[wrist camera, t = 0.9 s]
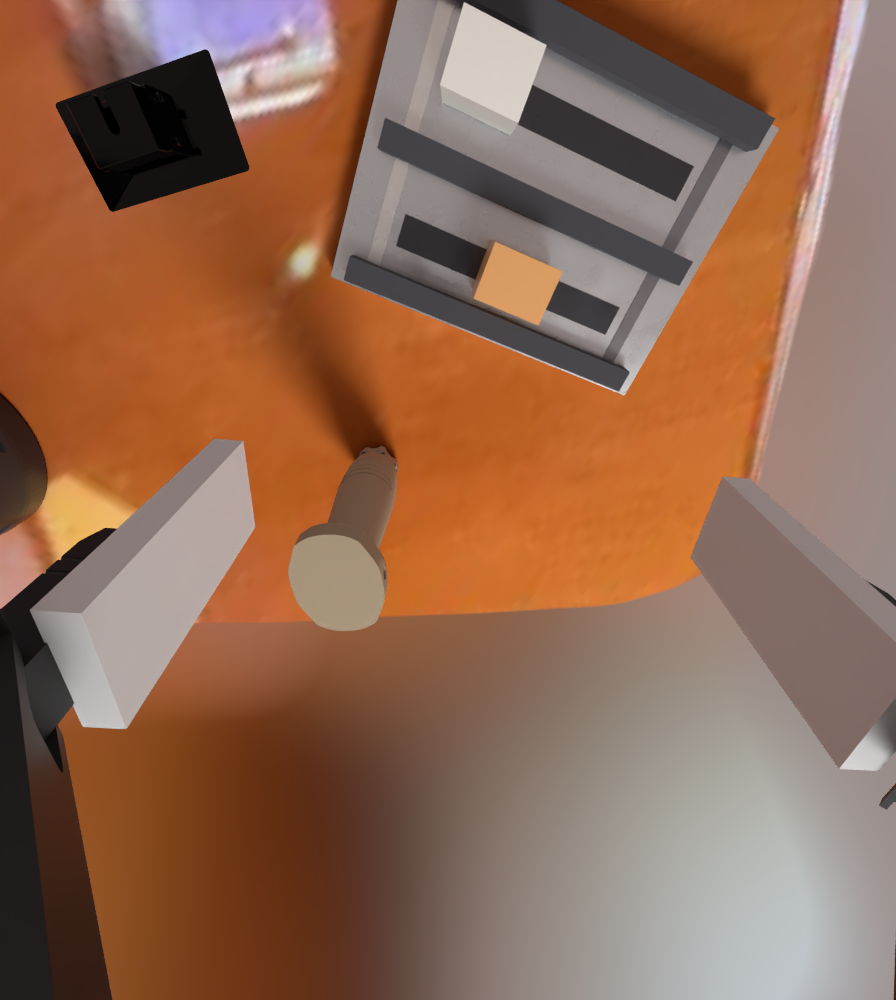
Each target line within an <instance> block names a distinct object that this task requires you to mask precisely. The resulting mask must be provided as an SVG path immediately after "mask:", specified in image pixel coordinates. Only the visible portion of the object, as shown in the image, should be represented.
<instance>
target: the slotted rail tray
mask: <svg viewBox="0 0 896 1000" xmlns="http://www.w3.org/2000/svg"><path fill="white" fill-rule="evenodd" d="M456 1H458V2H460V3H462V4H464V2H465V3H467V4H469V5H471V6H473V7H475V8H476V9H478V10H480V11H482V12H484V13H486V14H488V15H490V16H492V17H494V18H496V19H497V20H499V21H501V22H503V23H505V24H507V25H509V26H511V27H513V28H515V29H517V30H519V31H520V32H522V33H524V34H526V35H528V36H530V37H532V38H534V39H536V40H538V41H540V42H541V43H543V44H545V45H547V46H546V48H548V49H550V50H552V51H554V52H556V53H558V54H559V55H561V56H563V57H565V58H567V59H569V60H571V61H573V62H575V63H577V64H579V65H581V66H582V67H584V68H586V69H588V70H590V71H592V72H594V73H596V74H598V75H600V76H602V77H604V78H605V79H607V80H609V81H611V82H613V83H615V84H617V85H619V86H621V87H623V88H625V89H627V90H628V91H630V92H632V93H634V94H636V95H638V96H640V97H642V98H644V99H646V100H648V101H650V102H651V103H653V104H655V105H657V106H659V107H661V108H663V109H665V110H667V111H669V112H671V113H673V114H674V115H676V116H678V117H680V118H682V119H684V120H686V121H688V122H690V123H692V124H694V125H696V126H697V127H699V128H701V129H703V130H705V131H707V132H709V133H711V134H713V135H715V136H717V137H719V138H721V139H723V140H725V141H727V142H729V143H731V144H733V145H734V146H736V147H738V148H740V149H742V150H743V151H745V152H748V151H752V150H756V149H758V148H759V146H760V144H761V142H762V141H763V139H764V137H765V135H766V134H767V132H768V130H769V128H770V127H771V125H772V123H773V121H774V120H775V118H773V117H771V116H770V115H768V114H766V113H764V112H762V111H760V110H758V109H757V108H755V107H753V106H751V105H749V104H747V103H746V102H744V101H742V100H740V99H738V98H736V97H734V96H733V95H731V94H729V93H727V92H725V91H723V90H722V89H720V88H718V87H716V86H714V85H712V84H710V83H709V82H707V81H705V80H703V79H701V78H699V77H697V76H696V75H694V74H692V73H690V72H688V71H686V70H685V69H683V68H681V67H679V66H677V65H675V64H673V63H672V62H670V61H668V60H666V59H664V58H662V57H661V56H659V55H657V54H655V53H653V52H651V51H649V50H648V49H646V48H644V47H642V46H640V45H638V44H637V43H635V42H633V41H631V40H629V39H627V38H625V37H624V36H622V35H620V34H618V33H616V32H614V31H613V30H611V29H609V28H607V27H605V26H603V25H601V24H600V23H598V22H596V21H594V20H592V19H590V18H589V17H587V16H585V15H583V14H581V13H579V12H577V11H576V10H574V9H572V8H570V7H568V6H566V5H564V4H563V3H561V2H559V1H557V0H456ZM377 148H378V149H379V150H380V151H382V152H384V153H387V154H389V155H391V156H393V157H396V158H398V159H400V160H402V161H404V162H407V163H409V164H411V165H413V166H415V167H417V168H420V169H422V170H424V171H426V172H428V173H431V174H433V175H435V176H437V177H439V178H442V179H444V180H446V181H448V182H450V183H452V184H455V185H457V186H459V187H461V188H463V189H466V190H468V191H470V192H472V193H474V194H477V195H479V196H481V197H483V198H485V199H488V200H490V201H492V202H494V203H496V204H499V205H501V206H503V207H505V208H507V209H510V210H512V211H514V212H516V213H518V214H521V215H523V216H525V217H527V218H529V219H531V220H534V221H536V222H538V223H540V224H542V225H545V226H547V227H549V228H551V229H553V230H556V231H558V232H560V233H562V234H564V235H567V236H569V237H571V238H573V239H575V240H578V241H580V242H582V243H584V244H586V245H589V246H591V247H593V248H595V249H597V250H600V251H602V252H604V253H606V254H608V255H610V256H613V257H615V258H617V259H619V260H621V261H624V262H626V263H628V264H630V265H632V266H635V267H637V268H639V269H641V270H643V271H646V272H648V273H650V274H652V275H655V276H657V277H659V278H661V279H663V280H665V281H668V282H670V283H672V284H675V285H679V286H680V284H681V282H682V280H683V279H684V277H685V275H686V274H687V272H688V270H689V268H690V267H691V265H692V263H693V261H691V260H689V259H686V258H684V257H682V256H680V255H678V254H676V253H674V252H671V251H669V250H667V249H665V248H663V247H661V246H659V245H656V244H654V243H652V242H650V241H648V240H646V239H644V238H642V237H639V236H637V235H635V234H633V233H631V232H629V231H627V230H624V229H622V228H620V227H618V226H616V225H614V224H612V223H609V222H607V221H605V220H603V219H601V218H599V217H597V216H595V215H592V214H590V213H588V212H586V211H584V210H582V209H580V208H577V207H575V206H573V205H571V204H569V203H567V202H565V201H562V200H560V199H558V198H556V197H554V196H552V195H550V194H547V193H545V192H543V191H541V190H539V189H537V188H535V187H533V186H530V185H528V184H526V183H524V182H522V181H520V180H518V179H515V178H513V177H511V176H509V175H507V174H505V173H503V172H500V171H498V170H496V169H494V168H492V167H490V166H488V165H486V164H483V163H481V162H479V161H477V160H475V159H473V158H471V157H468V156H466V155H464V154H462V153H460V152H458V151H456V150H453V149H451V148H449V147H447V146H445V145H443V144H441V143H439V142H436V141H434V140H432V139H430V138H428V137H426V136H424V135H421V134H419V133H417V132H415V131H413V130H411V129H409V128H406V127H404V126H402V125H400V124H398V123H396V122H394V121H392V120H389V119H387V118H385V120H384V124H383V127H382V131H381V135H380V139H379V143H378V147H377ZM344 281H347V282H349V283H352V284H354V285H357V286H359V287H362V288H364V289H367V290H369V291H372V292H374V293H377V294H379V295H382V296H384V297H386V298H389V299H391V300H394V301H396V302H399V303H401V304H404V305H406V306H409V307H411V308H414V309H416V310H419V311H421V312H423V313H426V314H428V315H431V316H433V317H436V318H438V319H441V320H443V321H446V322H448V323H451V324H453V325H456V326H458V327H460V328H463V329H465V330H468V331H470V332H473V333H475V334H478V335H480V336H483V337H485V338H488V339H490V340H493V341H495V342H497V343H500V344H502V345H505V346H507V347H510V348H512V349H515V350H517V351H520V352H522V353H525V354H527V355H530V356H532V357H534V358H537V359H539V360H542V361H544V362H547V363H549V364H552V365H554V366H557V367H559V368H562V369H564V370H567V371H569V372H571V373H574V374H576V375H579V376H581V377H584V378H586V379H589V380H591V381H594V382H596V383H599V384H601V385H604V386H606V387H608V388H611V389H613V390H616V391H618V392H619V391H620V389H621V387H622V385H623V384H624V382H625V380H626V378H627V377H628V375H629V373H630V372H629V371H628V370H627V369H626V368H625V367H622V366H620V365H618V364H615V363H612V362H610V361H608V360H605V359H603V358H601V357H598V356H596V355H593V354H591V353H589V352H586V351H584V350H581V349H579V348H577V347H574V346H572V345H569V344H567V343H565V342H562V341H560V340H557V339H555V338H553V337H550V336H548V335H545V334H543V333H540V332H538V331H536V330H533V329H531V328H528V327H526V326H524V325H521V324H519V323H516V322H514V321H512V320H509V319H507V318H504V317H502V316H500V315H497V314H495V313H492V312H490V311H488V310H485V309H483V308H480V307H478V306H476V305H473V304H471V303H468V302H466V301H463V300H461V299H459V298H456V297H454V296H451V295H449V294H447V293H444V292H442V291H439V290H437V289H435V288H432V287H430V286H427V285H425V284H423V283H420V282H418V281H415V280H413V279H411V278H408V277H406V276H403V275H401V274H398V273H396V272H394V271H391V270H389V269H386V268H384V267H382V266H379V265H376V264H374V263H372V262H369V261H367V260H365V259H362V258H360V257H358V256H355V255H351V256H350V257H349V261H348V265H347V269H346V272H345V276H344Z"/></svg>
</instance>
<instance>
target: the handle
mask: <svg viewBox="0 0 896 1000" xmlns="http://www.w3.org/2000/svg"><path fill="white" fill-rule="evenodd" d="M359 455H360V456H359V457H358V458H357V459H356V460H355V461H354V462H353V463H352V464H351V466H350V467H349V469H348V470H347V472H346V474H345V475H344V477H343V479H342V482H341V484H340V486H339V488H338V491H337V494H336V498H335V501H334V504H333V507H332V511H331V514H330V517H329V520H328V523H325V524H319V525H316V526H312V527H311V528H309V529H307V530H306V531H304V532H303V533H302V534H301V535H300V536H299V538H298V540H297V542H296V544H295V546H294V549H293V552H292V556H291V560H290V564H289V572H288V574H289V580H290V583H291V587H292V590H293V593H294V596H295V598H296V600H297V603H298V604H299V605H300V607H301V608H302V609H303V610H304V611H305V613H306V614H307V615H308V616H309V617H310V618H311V619H312V620H313V621H314V622H315V623H316V624H317V625H319V626H321V627H324V628H327V629H330V630H337V631H352V630H359V629H363V628H366V627H368V626H370V625H372V624H374V623H375V622H376V621H377V619H378V617H379V614H380V612H381V609H382V607H383V603H384V599H385V595H386V590H387V572H386V564H385V561H384V558H383V556H382V554H381V552H380V550H379V547H380V544H381V541H382V538H383V535H384V532H385V529H386V526H387V523H388V520H389V518H390V515H391V512H392V509H393V505H394V500H395V495H396V485H397V474H396V473H397V471H398V465H397V460H396V459H395V458H393V457H391V456H390V455H389V453H388V452H387V450H386V448H385V447H383V446H379V447H378V448H369V447H366V448H364V449H363V450H362V451H361V452H360V454H359Z"/></svg>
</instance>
